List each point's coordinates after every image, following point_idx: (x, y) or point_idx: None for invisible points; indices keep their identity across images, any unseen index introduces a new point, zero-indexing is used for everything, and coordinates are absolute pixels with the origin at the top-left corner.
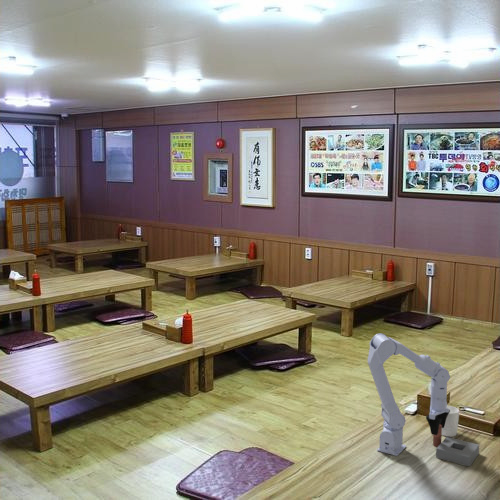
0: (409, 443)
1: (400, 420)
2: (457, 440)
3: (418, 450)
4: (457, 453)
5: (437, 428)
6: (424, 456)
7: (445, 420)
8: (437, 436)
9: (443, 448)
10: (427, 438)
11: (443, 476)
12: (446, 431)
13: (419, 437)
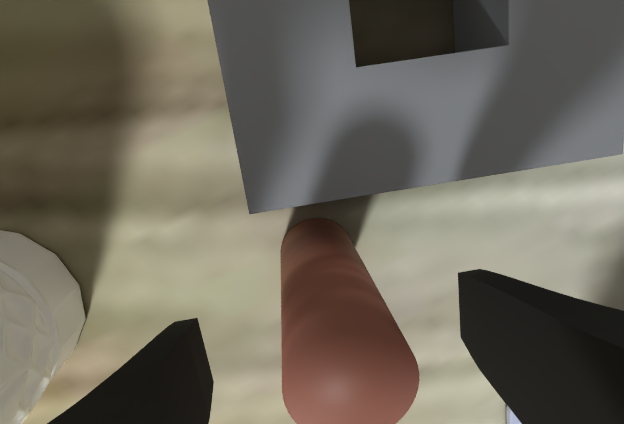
0: (432, 412)
1: None
2: (258, 59)
3: None
4: None
5: (590, 308)
6: (579, 225)
7: (130, 385)
8: (371, 279)
9: (583, 90)
10: (249, 369)
11: None
12: (51, 306)
13: (280, 418)
